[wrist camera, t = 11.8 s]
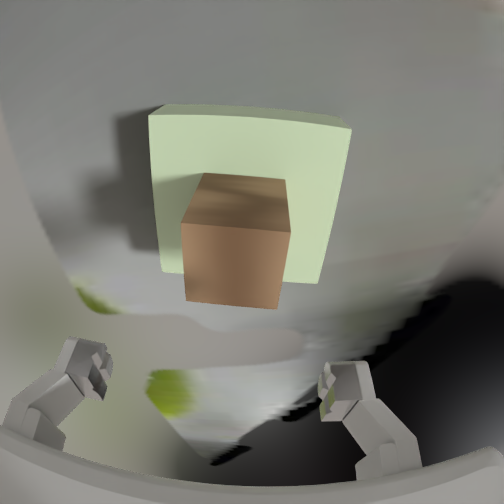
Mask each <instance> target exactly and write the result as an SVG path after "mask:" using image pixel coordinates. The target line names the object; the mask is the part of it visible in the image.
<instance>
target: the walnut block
mask: <svg viewBox="0 0 504 504" xmlns="http://www.w3.org/2000/svg"><path fill="white" fill-rule="evenodd" d="M290 236H291V227H290V217H289V208H288V199H287V190H286V182H285V179H275V178H265V177H255V176H243V175H231V174H217V173H204V174H203V176H202V178H201V180H200V182H199V184H198V186H197V188H196V190H195V193H194V195H193V197H192V199H191V201H190V203H189V205H188V208H187V210H186V212H185V214H184V216H183V219H182V221H181V239H182V255H183V269H184V282H185V293H186V301H192V302H201V303H211V304H221V305H231V306H241V307H253V308H264V309H277V306H278V301H279V296H280V291H281V286H282V280H283V275H284V269H285V264H286V258H287V253H288V247H289V242H290Z"/></svg>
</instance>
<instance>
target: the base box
mask: <svg viewBox="0 0 504 504" xmlns="http://www.w3.org/2000/svg"><path fill="white" fill-rule="evenodd" d="M148 121H149V143H150V160H151V174H152V187H153V198H154V209H155V219H156V228H157V236H158V245H159V252H160V260H161V267H162V272H169V273H181V274H184V269H183V255H182V239H181V221H182V219H183V216H184V214H185V212H186V210H187V208H188V205H189V203H190V201H191V199H192V197H193V195H194V193H195V190H196V188H197V186H198V184H199V182H200V180H201V178H202V176H203V174H204V173H217V174H231V175H243V176H255V177H265V178H275V179H285V182H286V190H287V199H288V208H289V217H290V227H291V236H290V242H289V247H288V253H287V258H286V264H285V269H284V275H283V280H282V281H283V282H298V283H313V284H317V283H318V279H319V275H320V272H321V268H322V264H323V260H324V256H325V252H326V248H327V244H328V240H329V236H330V232H331V227H332V223H333V219H334V214H335V210H336V206H337V201H338V197H339V192H340V187H341V183H342V178H343V173H344V168H345V163H346V158H347V153H348V148H349V142H350V137H351V131H352V129H351V128H350V127H349V126H348V125H347V124H346V123H345V122H344V121H343V120H342V119H341V118H340V117H337V116H330V115H324V114H317V113H309V112H301V111H293V110H284V109H273V108H262V107H248V106H231V105H199V104H172V105H164V106H162V107H161V108H159V109H157V110H156V111H154V112H153V113H151V114H149V115H148Z"/></svg>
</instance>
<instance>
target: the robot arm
mask: <svg viewBox="0 0 504 504" xmlns="http://www.w3.org/2000/svg"><path fill="white" fill-rule="evenodd" d="M106 350H107V347H106V345H105V343H101V342H96V341H91V340H85V339H81V338H77V337H71V336H69V337H68V339H67V340H66V341H65V344H64V346H63V348H62V350H61V353H60V355H59V358H58V359H57V362H56V364H55V366H54V369H53V370H52V369H50V370H49V371H47V372H46V373H45V374H43V375H42V376H41V377H39V378H38V379H37V380H35V381H34V382H33V383H32V384H30V385H29V386H28V387H26V388H25V389H24V390H23V391H21V392H20V393H19V394H18V395H16V396H15V397H14V398H13V399H12V401H11V403H10V406H9V409H8V411H7V414H6V416H5V419H4V422H3V425H2V426H1V425H0V504H504V456H503V455H502V454H501V453H500V452H498V451H497V450H496V449H495V448H493V447H486V448H482V449H480V450H477V451H474V452H471V453H469V454H466V455H463V456H460V457H457V458H454V459H451V460H447V461H444V462H441V463H437V464H434V465H430V466H427V467H423V468H422V463H421V458H420V453H419V448H418V444H417V439H416V437H415V436H414V435H413V434H412V433H411V432H410V431H409V429H408V428H407V427H406V426H405V425H404V424H403V423H402V422H401V421H400V420H399V419H398V418H397V417H396V416H395V415H394V414H393V413H392V412H391V411H390V409H389V408H387V406H386V405H385V404H384V403H383V402H382V401H381V400H380V399H376V397H375V392H374V388H373V384H372V379H371V375H370V370H369V366H368V363H367V362H366V361H343V362H327V363H326V364H325V366H324V372H322V373H321V374H320V377H319V381H318V395H319V397H320V398H321V399H322V400H323V401H322V403H321V405H320V414H321V421H342V422H343V424H344V425H345V426H346V428H347V429H348V430H349V432H350V433H351V434H352V436H353V437H354V439H355V440H356V441H357V443H358V444H359V445H360V447H361V448H362V449H363V451H364V452H365V453H366V455H367V456H366V457H365V458H363V459H362V460H360V461H359V462H358V463H357V464H356V465H355V466H356V477H357V481H351V482H343V483H334V484H324V485H309V486H287V487H252V486H230V485H216V484H206V483H196V482H188V481H181V480H174V479H168V478H162V477H156V476H150V475H146V474H141V473H136V472H132V471H127V470H123V469H119V468H115V467H111V466H107V465H104V464H100V463H97V462H93V461H90V460H86V459H84V458H80V457H77V456H74V455H71V454H68V453H65V452H63V447H64V443H65V439H66V436H65V434H64V433H63V432H62V431H61V430H59V429H58V428H57V426H58V425H59V424H60V423H61V422H62V421H63V420H64V419H65V418H66V417H67V416H68V415H69V414H70V412H72V411H73V409H75V408H76V407H77V406H78V405H79V403H80V402H81V401H82V400H83V399H84V397H87V398H91V399H96V400H100V401H103V400H104V396H105V393H106V390H107V385H106V382H105V381H106V380H108V379H109V378H110V377H111V373H112V368H113V362H112V358H111V355H110V354H108V353H107V352H106Z"/></svg>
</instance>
